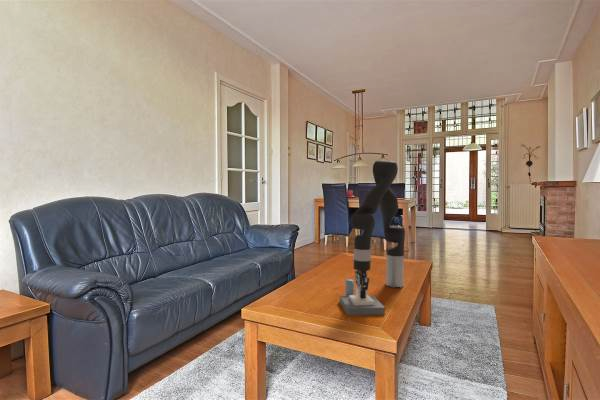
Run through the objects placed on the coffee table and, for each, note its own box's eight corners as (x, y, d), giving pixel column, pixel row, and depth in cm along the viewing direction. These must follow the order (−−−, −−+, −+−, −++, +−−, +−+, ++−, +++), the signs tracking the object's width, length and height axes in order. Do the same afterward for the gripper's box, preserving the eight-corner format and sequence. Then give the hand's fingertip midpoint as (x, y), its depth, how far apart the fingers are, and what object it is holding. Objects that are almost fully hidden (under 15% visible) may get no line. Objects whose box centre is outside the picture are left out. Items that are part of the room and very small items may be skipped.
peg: (344, 297, 162) (344, 279, 162) (352, 297, 163) (352, 279, 162) (346, 300, 158) (346, 281, 158) (354, 300, 159) (355, 281, 158)
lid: (348, 298, 152) (349, 284, 151) (368, 298, 153) (368, 284, 152) (354, 305, 143) (354, 290, 142) (374, 304, 144) (374, 290, 143)
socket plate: (339, 302, 155) (339, 296, 155) (372, 301, 156) (372, 295, 156) (348, 315, 139) (348, 308, 139) (384, 314, 141) (384, 307, 140)
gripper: (375, 262, 140) (374, 302, 141) (365, 255, 154) (364, 291, 155) (358, 262, 140) (357, 302, 140) (349, 255, 154) (349, 292, 154)
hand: (361, 296), depth 148 cm, fingers closed on lid, 4 cm apart
